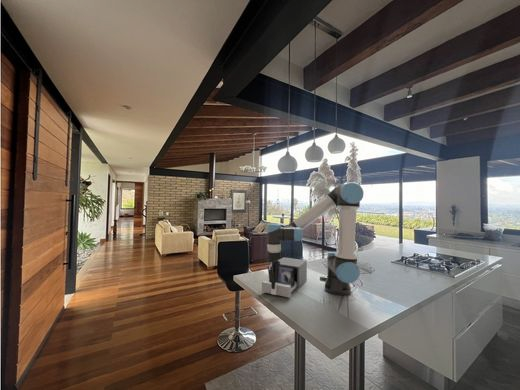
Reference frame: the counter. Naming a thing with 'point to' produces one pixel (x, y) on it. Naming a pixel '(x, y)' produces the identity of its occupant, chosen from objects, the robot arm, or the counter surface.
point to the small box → (286, 276)
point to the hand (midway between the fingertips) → (274, 293)
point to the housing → (296, 269)
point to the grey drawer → (279, 288)
